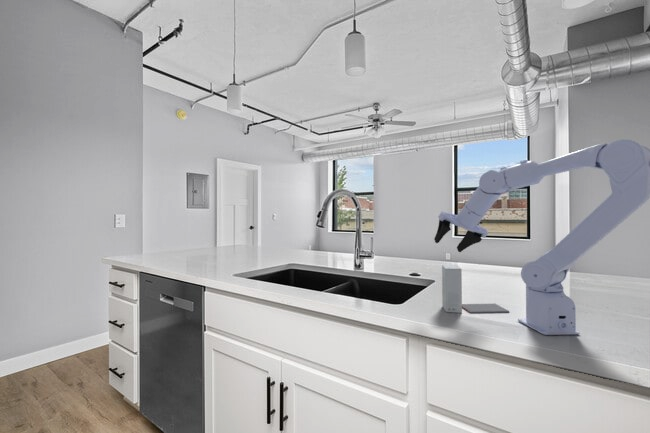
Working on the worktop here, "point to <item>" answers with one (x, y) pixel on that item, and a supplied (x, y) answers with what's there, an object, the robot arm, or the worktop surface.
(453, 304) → the skincare box
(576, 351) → the worktop surface
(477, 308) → the mat
